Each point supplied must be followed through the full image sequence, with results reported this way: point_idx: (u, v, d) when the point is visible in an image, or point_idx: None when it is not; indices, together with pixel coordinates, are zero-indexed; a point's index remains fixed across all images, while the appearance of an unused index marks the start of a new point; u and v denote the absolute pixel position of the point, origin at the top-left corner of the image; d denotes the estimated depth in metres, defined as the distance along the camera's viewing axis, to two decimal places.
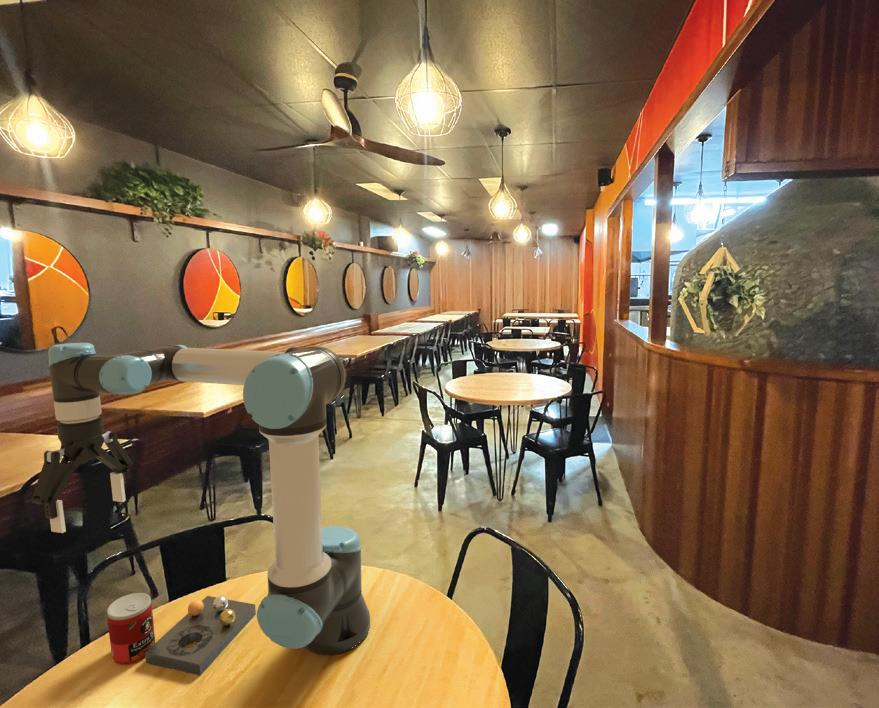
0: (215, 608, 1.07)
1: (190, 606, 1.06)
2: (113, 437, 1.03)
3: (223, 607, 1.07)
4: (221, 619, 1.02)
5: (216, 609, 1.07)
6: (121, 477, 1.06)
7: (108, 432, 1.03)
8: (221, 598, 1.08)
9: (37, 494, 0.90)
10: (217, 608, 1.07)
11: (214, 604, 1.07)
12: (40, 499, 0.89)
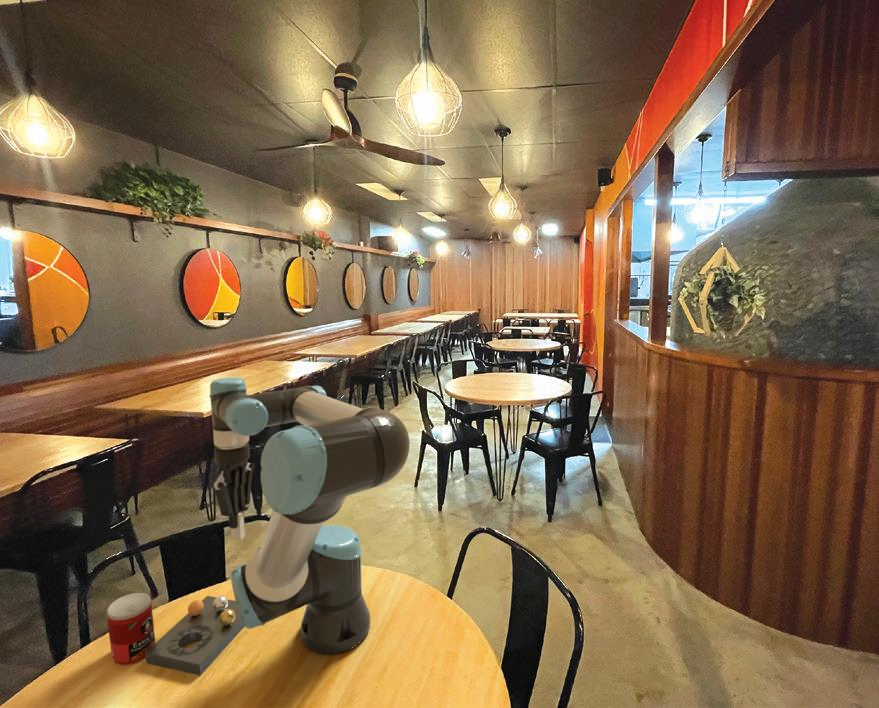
0: (215, 608, 1.07)
1: (190, 606, 1.06)
2: (251, 467, 1.16)
3: (223, 607, 1.07)
4: (221, 619, 1.02)
5: (216, 609, 1.07)
6: (242, 515, 1.13)
7: (249, 463, 1.17)
8: (221, 598, 1.08)
9: (223, 511, 1.09)
10: (217, 608, 1.07)
11: (214, 604, 1.07)
12: (228, 514, 1.09)
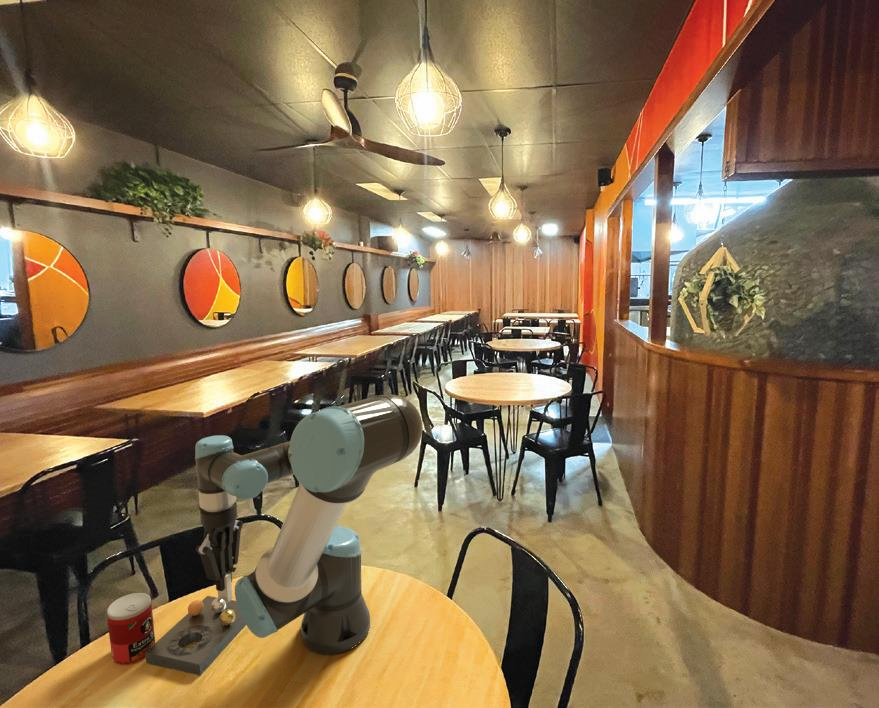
0: (214, 611, 1.06)
1: (190, 606, 1.06)
2: (240, 526, 1.12)
3: (222, 609, 1.07)
4: (221, 619, 1.02)
5: (215, 612, 1.07)
6: (229, 577, 1.09)
7: None
8: (218, 601, 1.07)
9: (209, 575, 1.05)
10: (215, 611, 1.06)
11: (212, 608, 1.06)
12: (215, 578, 1.05)
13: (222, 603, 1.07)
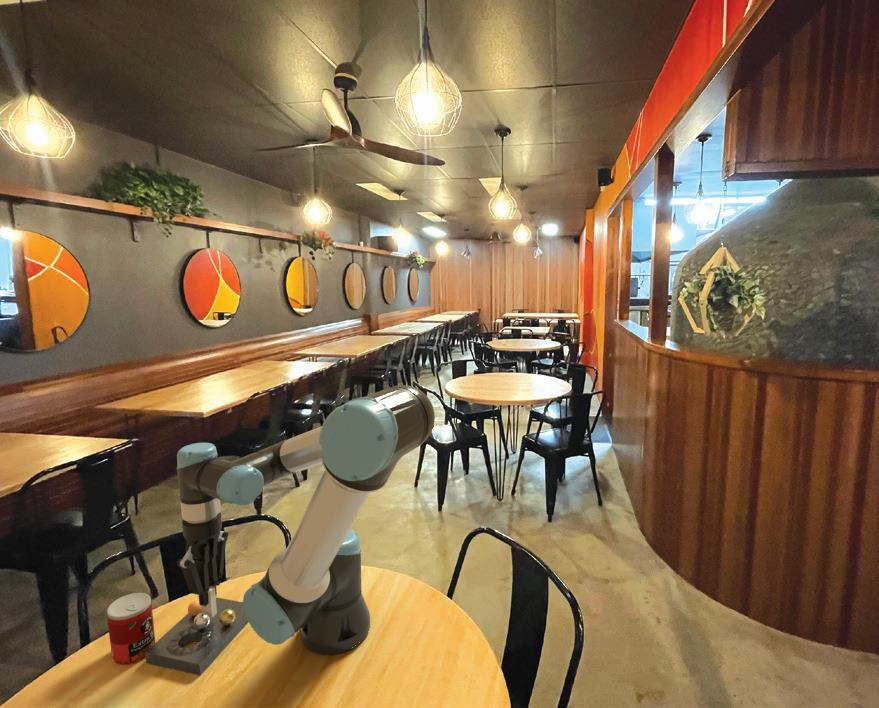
0: None
1: (190, 606, 1.06)
2: (225, 537, 1.07)
3: (209, 619, 1.03)
4: (221, 619, 1.02)
5: None
6: (213, 591, 1.04)
7: (222, 531, 1.08)
8: None
9: (192, 589, 1.00)
10: None
11: None
12: (197, 593, 1.00)
13: (206, 625, 1.02)
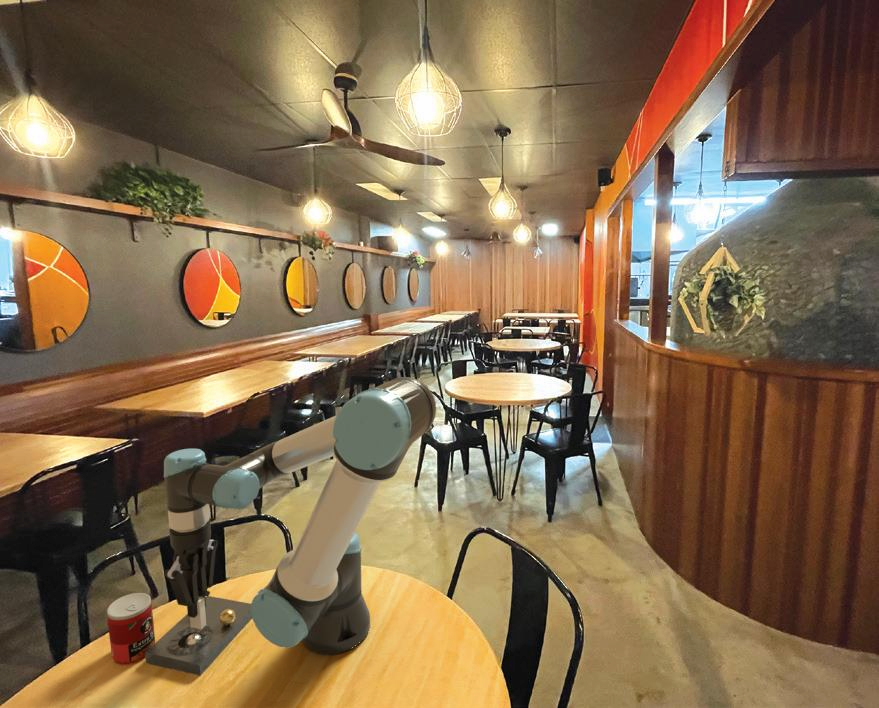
0: (189, 642, 0.99)
1: None
2: (214, 546, 1.04)
3: None
4: (221, 619, 1.02)
5: (189, 643, 0.98)
6: (203, 602, 1.01)
7: (212, 540, 1.05)
8: (199, 635, 1.00)
9: (180, 600, 0.97)
10: (191, 642, 0.99)
11: (191, 637, 0.99)
12: (186, 604, 0.97)
13: None
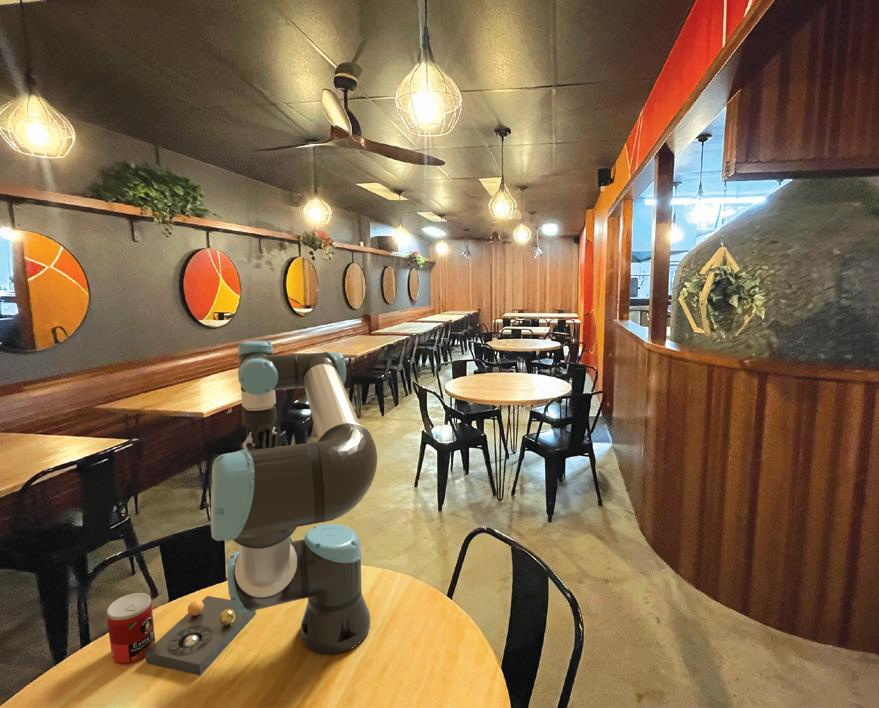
0: (186, 645, 0.98)
1: (190, 606, 1.06)
2: (277, 432, 1.17)
3: None
4: (221, 619, 1.02)
5: (186, 647, 0.98)
6: None
7: None
8: (195, 636, 1.00)
9: None
10: (188, 645, 0.98)
11: (186, 640, 0.99)
12: None
13: (198, 640, 1.00)
